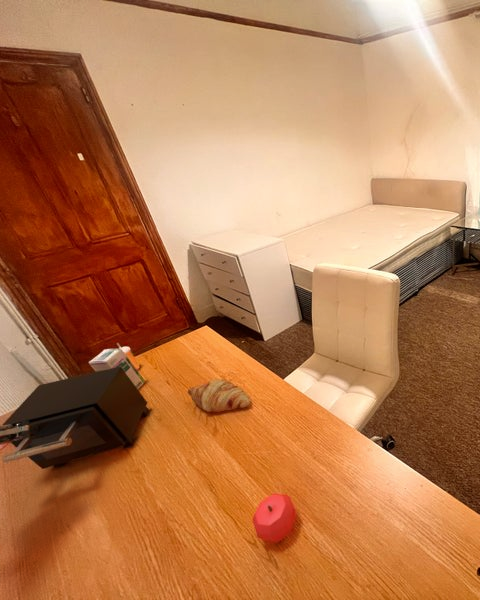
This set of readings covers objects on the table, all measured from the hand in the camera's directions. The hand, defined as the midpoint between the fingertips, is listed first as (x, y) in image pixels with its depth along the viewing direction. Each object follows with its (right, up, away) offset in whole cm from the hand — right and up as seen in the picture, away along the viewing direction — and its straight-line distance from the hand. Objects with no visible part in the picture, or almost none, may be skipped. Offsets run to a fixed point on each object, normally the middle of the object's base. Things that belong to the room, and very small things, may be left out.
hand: (33, 431), depth 65 cm
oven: (-2, -10, +18) cm, 21 cm away
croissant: (+25, -3, +26) cm, 36 cm away
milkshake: (-15, +4, +42) cm, 45 cm away
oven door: (+1, -12, +8) cm, 15 cm away
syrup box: (-9, -1, +34) cm, 35 cm away
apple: (+53, -18, -3) cm, 56 cm away
